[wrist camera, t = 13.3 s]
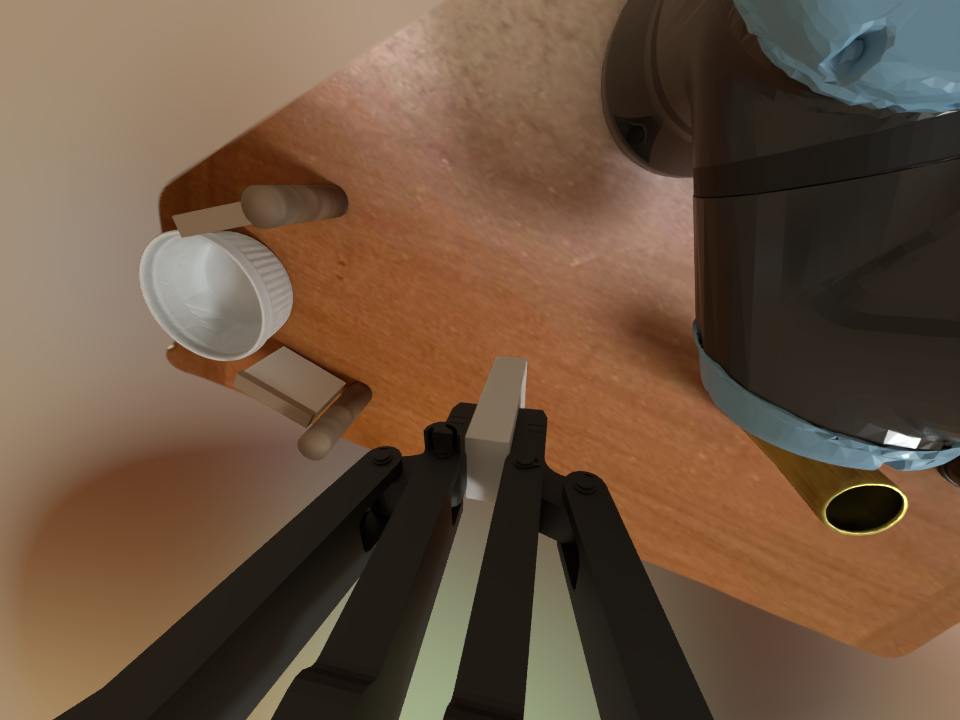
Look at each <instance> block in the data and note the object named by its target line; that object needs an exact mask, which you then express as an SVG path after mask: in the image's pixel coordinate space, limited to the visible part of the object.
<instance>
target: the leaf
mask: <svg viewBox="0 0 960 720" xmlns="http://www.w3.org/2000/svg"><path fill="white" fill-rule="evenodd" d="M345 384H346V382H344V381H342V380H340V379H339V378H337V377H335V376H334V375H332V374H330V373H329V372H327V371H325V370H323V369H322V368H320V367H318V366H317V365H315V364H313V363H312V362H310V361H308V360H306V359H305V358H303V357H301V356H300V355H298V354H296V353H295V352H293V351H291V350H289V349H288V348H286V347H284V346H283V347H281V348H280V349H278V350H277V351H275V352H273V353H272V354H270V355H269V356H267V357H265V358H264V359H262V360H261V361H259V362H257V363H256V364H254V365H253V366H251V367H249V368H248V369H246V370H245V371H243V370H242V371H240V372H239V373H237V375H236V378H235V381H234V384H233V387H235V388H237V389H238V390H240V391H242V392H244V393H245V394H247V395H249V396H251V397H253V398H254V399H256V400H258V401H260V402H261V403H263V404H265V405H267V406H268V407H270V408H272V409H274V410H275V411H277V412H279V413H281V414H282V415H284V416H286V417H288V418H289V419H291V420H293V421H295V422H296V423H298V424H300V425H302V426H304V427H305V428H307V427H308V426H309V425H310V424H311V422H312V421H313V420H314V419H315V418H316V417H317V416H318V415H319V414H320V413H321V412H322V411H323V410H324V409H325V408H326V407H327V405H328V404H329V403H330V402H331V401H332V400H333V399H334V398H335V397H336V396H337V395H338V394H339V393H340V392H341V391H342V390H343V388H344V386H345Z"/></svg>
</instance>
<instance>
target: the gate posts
mask: <svg viewBox="0 0 960 720" xmlns="http://www.w3.org/2000/svg"><path fill="white" fill-rule="evenodd" d="M241 207H242V211H243V213H244V215H245V216H246V218H247V219H248V220H249V221H250V222H251V223H252V224H253V225H254V226H256V227H259V228H262V229H268V228H274V227H280V226H286V225H292V224H298V223H304V222H310V221H317V220H323V219H329V218H335V217H340V216H342V215H344V214H345V213H346V211H347V209H348V198H347V195H346V194H345V192H344V191H343V190H342V189H341V188H340V187H339V186H337V185H332V184H325V185H251V186H248V187H247V188H246V189H244V191H243V193H242V195H241ZM371 398H372V392H371V390H370V388H369V387H368V386H367V385H366V384H364V383H361V382H355V383H353V384H352V385H351V386H350V387H349V388H348V389H347V390H346V391H345V392H344V393H343V394H342V395H341V396H340V397H339V398H338V399H337V400H336V401H335V402H334V403H333V404H332V405H331V406H330V407H329V408H328V409H327V411H326V412H325V413H324V414H323V415H322V416H321V417H320V418H319V419H318V420H317V421H316V422H315V423H314V424H313V425H312V426H311V427H310V428H309V429H308V430H307V431H306V432H305V433H304V434H303V435H302V437H301V438H300V439H299V440H298V449H299V451H300V452H301V453H302V454H303V455H304V456H305V457H307V458H308V459H311V460H321V459H323V458H324V457H325V456H326V454H327V453H328V452H329V451H330V450H331V448H332V447H333V446H334V445H335V443H336V442H337V441H338V440H339V438H340V437H341V436H342V435H343V434H344V432H345V431H346V430H347V429H348V427H349V426H350V425H351V424H352V422H353V421H354V420H355V419H356V417H357V416H358V415H359V414H360V412H361V411H362V410H363V409H364V407H365V406H366V405H367V404H368V402H369V401H370V400H371Z"/></svg>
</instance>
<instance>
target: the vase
mask: <svg viewBox="0 0 960 720" xmlns="http://www.w3.org/2000/svg"><path fill="white" fill-rule="evenodd" d="M740 428H741V427H740ZM741 429H742V430H743V431H744V432H745V433H746V434H747V435H748V436H749V437H750V438H751V439H752V440H753V442H754V443H755V444H756V445H757V446H758V447H759V448H760V449H761V450H762V451H763V452H764V453H765V454H766V455H767V456H768V457H769V458H770V459H771V460H772V461H773V462H774V464H775V465H776V466H777V468H778V469H779V470H780V471H781V473H782V474H783V475H784V476H785V478H786V479H787V480H788V481H789V482H790V484H791V485H792V486H793V487H794V488H795V490H796V491H797V492H798V493H799V495H800V496H801V497H802V498H803V500H804V501H805V502H806V503H807V504H808V506H809V507H810V508H811V509H812V511H813V512H814V513H815V515H816V516H817V517H818V518H819V519H820V521H821V522H822V523H823V524H825V525H826V526H827V527H828V528H830V529H831V530H833V531H835V532H837V533H841V534H844V535H851V536H864V535H871V534H875V533H879V532H882V531H884V530H887V529H889V528H890V527H892V526H893V525H895V524H896V523H897V522H899V521H900V520H901V519H902V518H903V516H904V515H905V513H906V511H907V509H908V506H909V503H908V498H907V496H906V494H905V493H904V492H903V491H902V490H901V489H900V488H899V487H898V486H896V485H895V484H894V483H893V482H892V481H891V480H889V479H888V478H887V477H886V476H885V475H884V474H883V473H882V472H881V471H879V470H878V469H876V470H862V469H855V468H849V467H843V466H838V465H833V464H828V463H824V462H821V461H817V460H813V459H810V458H807V457H803V456H800V455H797V454H795V453H792V452H789V451H787V450H784V449H782V448H779V447H777V446H775V445H773V444H771V443H768V442H766V441H764V440H762V439H760V438H758V437H756V436H754V435H753V434H751V433H749V432H748V431H746V430H744V429H743V428H741Z"/></svg>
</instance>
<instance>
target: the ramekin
mask: <svg viewBox="0 0 960 720" xmlns="http://www.w3.org/2000/svg"><path fill="white" fill-rule="evenodd" d="M139 281H140V287H141V291H142V294H143V297H144V299H145V302H146V304H147V306H148V308H149V310H150V312H151V313H152V315H153V316H154V318H155V319H156V321H157V322H158V323H159V325H160V326H161V327H162V328H163V329H164V330H165V331H166V333H168V334H169V335H170V336H171V337H172V338H173V339H174V340H175V341H177V342H178V343H179V344H181V345H182V346H183V347H185V348H187V349H188V350H190V351H192V352H194V353H196V354H198V355H200V356H203V357H206V358H209V359H213V360H219V361H233V360H239V359H242V358H244V357H246V356H248V355H250V354H252V353H254V352H256V351H257V350H258V349H260V348H261V347H262V346H263V345H264V343H265V342H266V340H267V339H269V338H270V337H271V336H272V335H273V334H274V333H276V332H277V331H278V330H279V329H280V328H281V327H282V326H283V325H284V323H285V322H286V321H287V319H288V317H289V315H290V311H291V309H292V303H293V293H292V287H291V282H290V279H289V277H288V274H287V272H286V270H285V268H284V267H283V265H282V264H281V262H280V261H279V260H278V258H277V257H276V256H275V255H274V254H273V253H272V252H271V251H270V250H269V249H268V248H267V247H266V246H264V245H263V244H262V243H260V242H259V241H257V240H255V239H254V238H251V237H249V236H247V235H244V234H240V233H236V232H231V231H216V232H211V233H206V234H200V235H195V236H190V237H184V238H182V237H181V235H180V233H179V231H178V229H177V230H172V231H167V232H164V233H162V234H159V235H158V236H156V237H155V238H153V239H152V240H151V241H150V242H149V243H148V244H147V246H146V247H145V249H144V251H143V253H142V255H141V258H140V264H139Z"/></svg>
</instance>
